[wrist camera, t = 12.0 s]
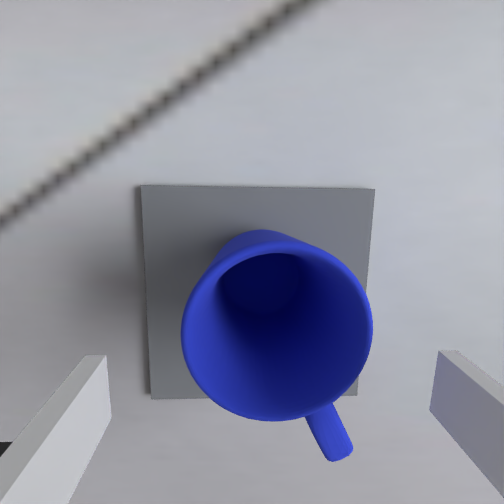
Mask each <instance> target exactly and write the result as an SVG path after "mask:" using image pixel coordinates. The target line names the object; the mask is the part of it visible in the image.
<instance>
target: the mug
mask: <svg viewBox="0 0 504 504" xmlns="http://www.w3.org/2000/svg"><path fill="white" fill-rule="evenodd" d="M372 335H373V320H372V313H371V308H370V304H369V301H368V298H367V296H366V293H365V291H364V289H363V287H362V285H361V284H360V282H359V281H358V279H357V278H356V276H355V275H354V274H353V273H352V271H351V270H350V269H349V268H348V267H347V266H346V265H345V264H344V263H342V262H341V261H340V260H339V259H337V258H336V257H335V256H333V255H332V254H330V253H328V252H326V251H324V250H322V249H320V248H318V247H315V246H313V245H310V244H308V243H306V242H303V241H301V240H298V239H296V238H293V237H291V236H288V235H286V234H283V233H281V232H277V231H273V230H266V229H260V230H252V231H248V232H245V233H242V234H240V235H238V236H236V237H234V238H233V239H231V240H230V241H229V242H228V243H226V244H225V245H224V246H223V248H222V249H221V250H220V251H219V252H218V254H217V255H216V257H215V258H214V259H213V261H212V262H211V264H210V265H209V267H208V268H207V269H206V271H205V272H204V274H203V275H202V276H201V278H200V279H199V281H198V282H197V283H196V285H195V286H194V288H193V290H192V292H191V294H190V296H189V298H188V300H187V303H186V305H185V308H184V312H183V316H182V321H181V346H182V352H183V356H184V360H185V362H186V365H187V368H188V370H189V372H190V374H191V376H192V377H193V379H194V381H195V382H196V384H197V385H198V386H199V387H200V389H201V390H202V391H203V392H204V393H205V394H206V395H207V396H208V397H209V398H210V399H211V400H213V401H214V402H215V403H216V404H218V405H219V406H221V407H222V408H224V409H226V410H228V411H230V412H232V413H234V414H237V415H239V416H242V417H245V418H248V419H254V420H260V421H286V420H293V419H298V418H301V417H305V418H306V421H307V423H308V425H309V427H310V429H311V431H312V434H313V435H314V437H315V439H316V441H317V443H318V445H319V447H320V449H321V451H322V452H323V454H324V456H325V458H326V459H327V460H329V461H332V462H334V461H338V460H341V459H343V458H345V457H347V456H349V455H350V454H351V452H352V451H353V445H352V443H351V441H350V438H349V436H348V434H347V432H346V430H345V428H344V426H343V424H342V422H341V420H340V418H339V415H338V413H337V411H336V409H335V407H334V405H333V402H334V401H336V400H337V399H338V398H339V397H340V396H341V395H342V394H344V393H345V392H346V391H347V390H348V388H349V387H350V386H351V385H352V384H353V383H354V381H355V380H356V379H357V377H358V376H359V374H360V372H361V371H362V369H363V367H364V365H365V362H366V360H367V357H368V355H369V351H370V347H371V342H372Z"/></svg>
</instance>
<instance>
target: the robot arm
mask: <svg viewBox="0 0 504 504" xmlns="http://www.w3.org/2000/svg"><path fill="white" fill-rule="evenodd" d="M429 410H430V412H431V413H432V414H433V415H434V416H435V417H436V419H437V420H438V421H439V422H440V423H441V424H442V426H443V427H444V428H445V429H446V430H447V432H448V433H449V434H450V435H451V436H452V437H453V439H454V440H455V441H456V442H457V443H458V445H459V446H460V447H461V448H462V449H463V450H464V452H465V453H466V454H467V455H468V456H469V457H470V459H471V460H472V461H473V462H474V463H475V465H476V466H477V467H478V468H479V469H480V470H481V472H482V473H483V474H484V475H485V476H486V478H487V479H488V480H489V481H490V482H491V483H492V485H493V486H494V487H495V488H496V489H497V490H498V492H499V493H500V494H501V495H502V496H503V498H504V386H502V385H501V384H500V383H498V382H497V381H496V380H495V379H493V378H492V377H491V376H489V375H488V374H487V373H485V372H484V371H483V370H481V369H480V368H479V367H478V366H476V365H475V364H474V363H472V362H471V361H470V360H468V359H467V358H466V357H465V356H463V355H462V354H461V353H459V352H458V351H438V358H437V364H436V371H435V377H434V384H433V390H432V397H431V403H430V409H429ZM111 418H112V416H111V405H110V393H109V382H108V370H107V358H106V355H85V357H84V358H83V359H82V360H81V361H80V363H79V364H78V365H77V366H76V367H75V369H74V370H73V371H72V372H71V373H70V374H69V376H68V377H67V378H66V379H65V380H64V382H63V383H62V384H61V385H60V386H59V388H58V389H57V390H56V391H55V392H54V394H53V395H52V396H51V397H50V398H49V400H48V401H47V402H46V403H45V404H44V406H43V407H42V408H41V409H40V410H39V412H38V413H37V414H36V415H35V416H34V418H33V419H32V420H31V421H30V422H29V423H28V425H27V426H26V427H25V428H24V429H23V431H22V432H21V433H20V434H19V435H18V437H17V438H16V439H15V440H14V441H13V442H0V504H68V502H69V501H70V499H71V497H72V495H73V493H74V491H75V489H76V487H77V485H78V483H79V481H80V479H81V477H82V475H83V473H84V471H85V469H86V467H87V465H88V463H89V461H90V459H91V457H92V455H93V453H94V451H95V449H96V447H97V446H98V444H99V442H100V440H101V438H102V436H103V434H104V432H105V430H106V428H107V426H108V424H109V422H110V420H111Z"/></svg>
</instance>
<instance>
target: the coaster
mask: <svg viewBox="0 0 504 504" xmlns="http://www.w3.org/2000/svg"><path fill="white" fill-rule="evenodd" d="M374 196H375V189H332V188H273V187H213V186H153V185H141V202H142V223H143V243H144V264H145V284H146V305H147V326H148V346H149V367H150V387H151V399H197V398H209V397H208V396H207V395H206V394H205V393H204V392H203V391H202V390H201V389H200V387H199V386H198V385H197V384H196V382H195V381H194V379H193V377H192V376H191V374H190V372H189V370H188V368H187V365H186V362H185V360H184V356H183V352H182V346H181V321H182V316H183V312H184V308H185V305H186V303H187V300H188V298H189V296H190V294H191V292H192V290H193V288H194V286H195V285H196V283H197V282H198V281H199V279H200V278H201V276H202V275H203V274H204V272H205V271H206V269H207V268H208V267H209V265H210V264H211V262H212V261H213V259H214V258H215V257H216V255H217V254H218V252H219V251H220V250H221V249H222V248H223V246H224V245H225V244H226V243H228V242H229V241H230V240H231V239H233V238H234V237H236V236H238V235H240V234H242V233H245V232H248V231H252V230H260V229H266V230H273V231H277V232H281V233H283V234H286V235H288V236H291V237H293V238H296V239H298V240H301V241H303V242H306V243H308V244H310V245H313V246H315V247H318V248H320V249H322V250H324V251H326V252H328V253H330V254H332V255H333V256H335V257H336V258H337V259H339V260H340V261H341V262H342V263H344V264H345V265H346V266H347V267H348V268H349V269H350V270H351V271H352V273H353V274H354V275H355V276H356V278H357V279H358V281H359V282H360V284H361V285H362V287H363V289H364V291H365V293H366V286H367V275H368V264H369V252H370V241H371V230H372V218H373V207H374ZM358 377H359V376H358ZM358 377H357V379H356V380H355V381H354V383H353V384H352V385H351V386H350V387H349V388H348V390H347V391H346V392H345V393H344V394H342V395H341V396H357V388H358Z"/></svg>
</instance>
